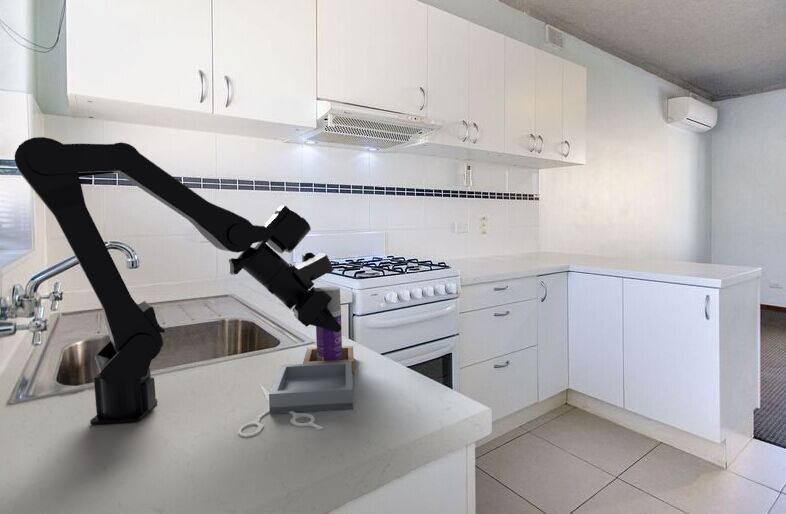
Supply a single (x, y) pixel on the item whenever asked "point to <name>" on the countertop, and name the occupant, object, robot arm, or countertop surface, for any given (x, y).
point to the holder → (346, 357)
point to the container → (327, 339)
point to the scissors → (256, 422)
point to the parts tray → (312, 388)
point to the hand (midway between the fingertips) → (336, 327)
